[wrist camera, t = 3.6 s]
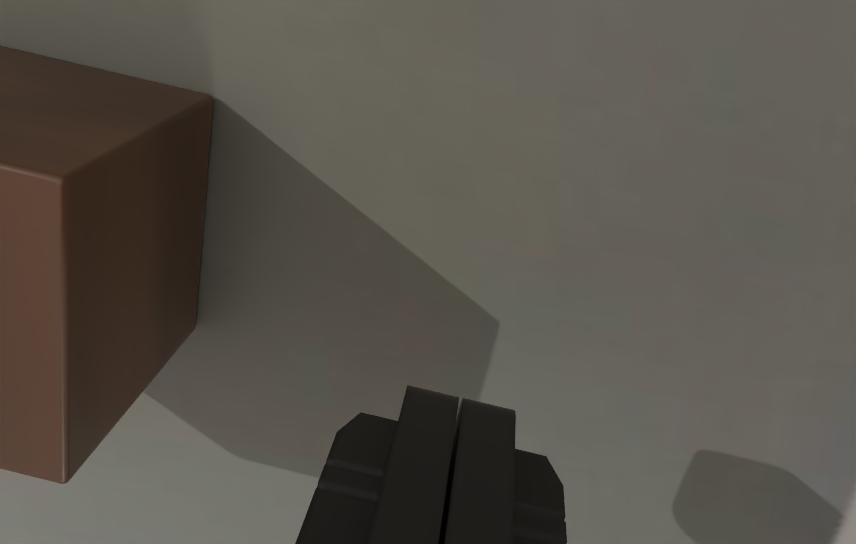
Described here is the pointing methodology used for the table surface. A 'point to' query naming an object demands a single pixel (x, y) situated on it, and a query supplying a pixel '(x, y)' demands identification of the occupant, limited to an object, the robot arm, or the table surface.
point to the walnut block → (91, 250)
